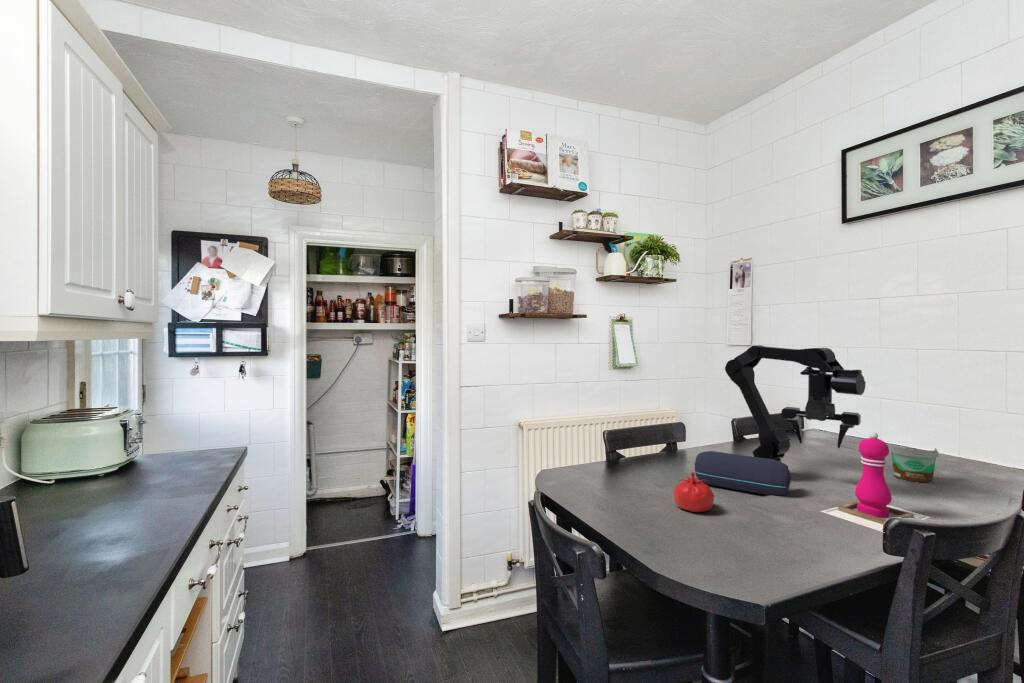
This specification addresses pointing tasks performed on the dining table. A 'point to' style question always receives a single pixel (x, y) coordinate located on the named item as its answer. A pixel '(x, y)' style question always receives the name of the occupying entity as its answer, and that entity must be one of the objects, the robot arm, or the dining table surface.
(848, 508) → the walnut socket
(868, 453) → the pepper mill
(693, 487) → the pomegranate
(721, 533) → the dining table surface
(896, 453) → the food container
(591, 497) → the dining table surface
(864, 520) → the picture frame
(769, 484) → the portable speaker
